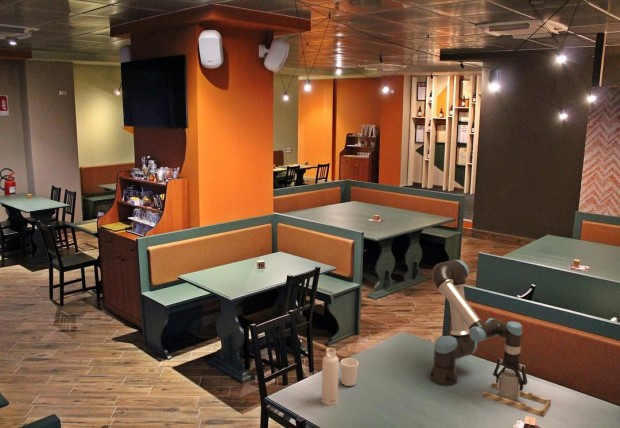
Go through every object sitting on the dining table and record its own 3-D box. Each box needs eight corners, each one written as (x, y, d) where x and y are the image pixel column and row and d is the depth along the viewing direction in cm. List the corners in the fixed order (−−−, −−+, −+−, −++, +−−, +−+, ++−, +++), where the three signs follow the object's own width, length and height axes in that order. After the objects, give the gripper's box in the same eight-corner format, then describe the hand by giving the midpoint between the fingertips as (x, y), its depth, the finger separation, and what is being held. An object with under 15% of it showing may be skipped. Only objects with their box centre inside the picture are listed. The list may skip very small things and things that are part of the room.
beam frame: (482, 396, 283) (483, 391, 283) (491, 386, 294) (492, 380, 294) (543, 416, 265) (543, 410, 265) (550, 404, 276) (551, 399, 276)
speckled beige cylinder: (519, 401, 276) (521, 379, 274) (499, 399, 278) (501, 377, 276) (516, 392, 286) (518, 370, 283) (497, 390, 287) (499, 369, 285)
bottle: (339, 398, 279) (341, 347, 273) (334, 406, 271) (336, 354, 266) (324, 395, 281) (325, 345, 276) (319, 403, 274) (320, 351, 268)
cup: (337, 386, 291) (337, 364, 289) (342, 378, 300) (343, 356, 298) (354, 389, 287) (355, 367, 285) (360, 381, 296) (361, 360, 294)
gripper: (488, 348, 281) (485, 388, 285) (532, 360, 268) (528, 402, 272) (493, 343, 287) (490, 382, 291) (536, 355, 274) (532, 396, 278)
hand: (508, 392), depth 281 cm, fingers closed on speckled beige cylinder, 9 cm apart
